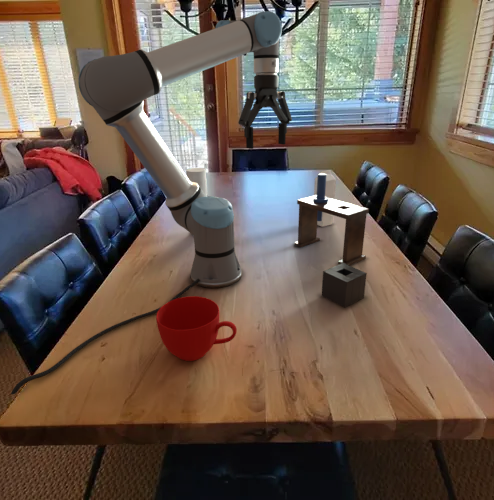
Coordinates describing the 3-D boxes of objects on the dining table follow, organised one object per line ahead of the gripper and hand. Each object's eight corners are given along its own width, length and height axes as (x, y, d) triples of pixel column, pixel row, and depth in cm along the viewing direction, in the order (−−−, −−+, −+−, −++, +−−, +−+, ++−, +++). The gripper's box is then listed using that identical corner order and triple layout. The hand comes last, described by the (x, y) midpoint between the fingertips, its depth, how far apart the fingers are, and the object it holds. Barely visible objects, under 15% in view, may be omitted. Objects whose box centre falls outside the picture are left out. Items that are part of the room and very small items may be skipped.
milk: (332, 224, 155) (337, 171, 146) (322, 227, 152) (325, 172, 143) (322, 220, 159) (326, 168, 151) (312, 222, 156) (315, 170, 148)
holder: (344, 307, 96) (346, 282, 93) (321, 295, 102) (322, 271, 99) (363, 297, 100) (366, 272, 97) (340, 286, 106) (342, 262, 103)
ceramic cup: (227, 380, 73) (224, 338, 69) (149, 365, 77) (143, 324, 73) (246, 340, 84) (245, 302, 80) (178, 329, 88) (173, 292, 85)
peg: (319, 223, 125) (322, 176, 119) (309, 220, 129) (311, 174, 123) (329, 220, 128) (333, 174, 122) (319, 217, 132) (321, 172, 126)
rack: (345, 267, 118) (350, 215, 111) (294, 244, 135) (295, 199, 128) (365, 258, 123) (371, 209, 116) (313, 238, 140) (315, 194, 134)
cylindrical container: (206, 237, 143) (202, 172, 133) (188, 236, 145) (183, 171, 135) (212, 230, 150) (208, 168, 140) (195, 229, 151) (190, 167, 141)
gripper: (240, 73, 104) (242, 151, 113) (304, 74, 118) (301, 143, 127) (225, 74, 110) (228, 148, 118) (288, 75, 124) (286, 141, 132)
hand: (266, 146), depth 122 cm, fingers open, 13 cm apart
